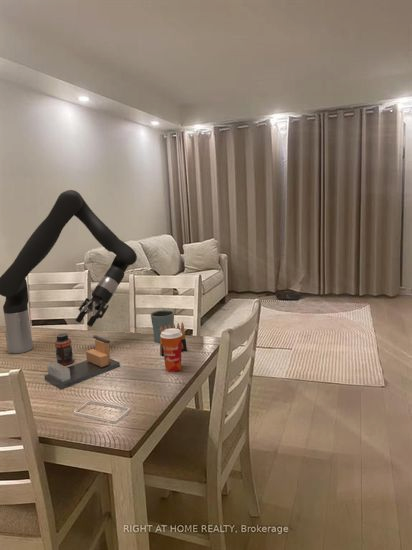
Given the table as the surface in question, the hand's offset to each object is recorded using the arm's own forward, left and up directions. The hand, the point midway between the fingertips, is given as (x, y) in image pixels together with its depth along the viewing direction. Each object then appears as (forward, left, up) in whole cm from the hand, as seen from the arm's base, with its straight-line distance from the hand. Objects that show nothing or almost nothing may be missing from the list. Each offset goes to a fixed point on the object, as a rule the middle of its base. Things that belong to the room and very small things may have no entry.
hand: (83, 323), depth 157 cm
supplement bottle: (-7, -5, -13) cm, 16 cm away
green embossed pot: (+32, +8, -13) cm, 36 cm away
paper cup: (+32, -24, -13) cm, 42 cm away
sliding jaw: (+6, -13, -11) cm, 18 cm away
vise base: (0, -17, -13) cm, 22 cm away
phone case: (+8, -48, -14) cm, 50 cm away
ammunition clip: (+34, -9, -14) cm, 38 cm away
